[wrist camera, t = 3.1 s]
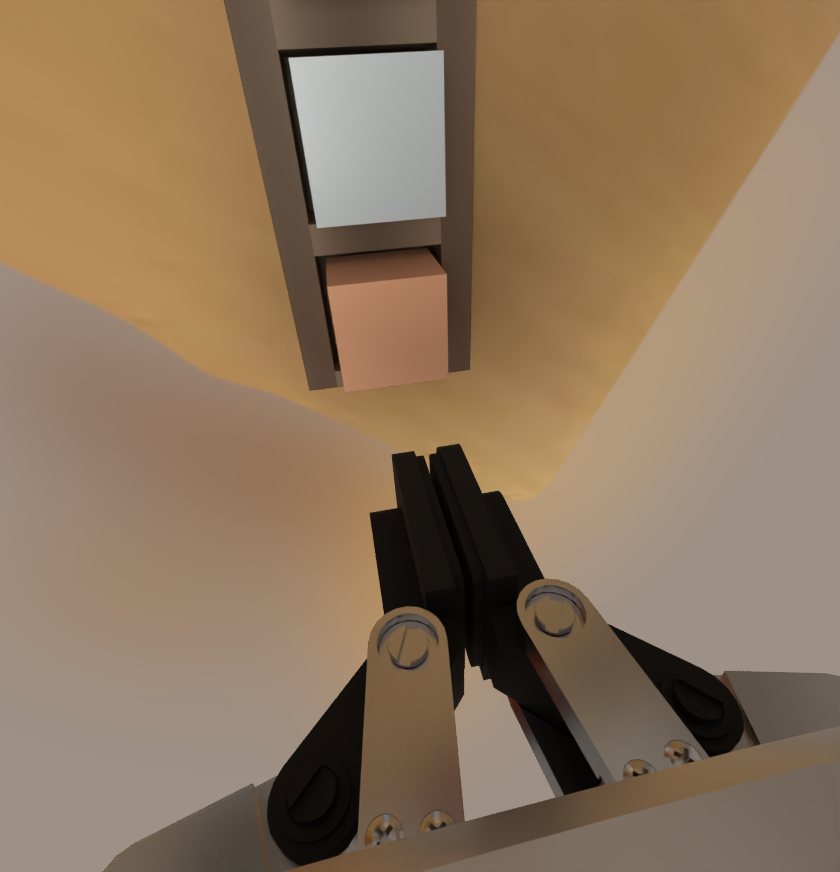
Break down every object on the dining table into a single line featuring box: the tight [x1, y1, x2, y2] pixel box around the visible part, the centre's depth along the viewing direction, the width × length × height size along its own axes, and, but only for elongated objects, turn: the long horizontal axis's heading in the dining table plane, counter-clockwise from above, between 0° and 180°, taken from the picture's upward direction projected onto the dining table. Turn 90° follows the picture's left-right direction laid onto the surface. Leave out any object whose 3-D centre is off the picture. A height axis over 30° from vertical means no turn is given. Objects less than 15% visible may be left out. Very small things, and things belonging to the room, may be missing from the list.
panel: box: [224, 0, 476, 391], centre depth 18 cm, size 8×20×4 cm, turn 3°
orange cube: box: [326, 248, 448, 392], centre depth 20 cm, size 4×4×4 cm
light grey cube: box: [289, 50, 446, 228], centre depth 16 cm, size 4×4×4 cm
